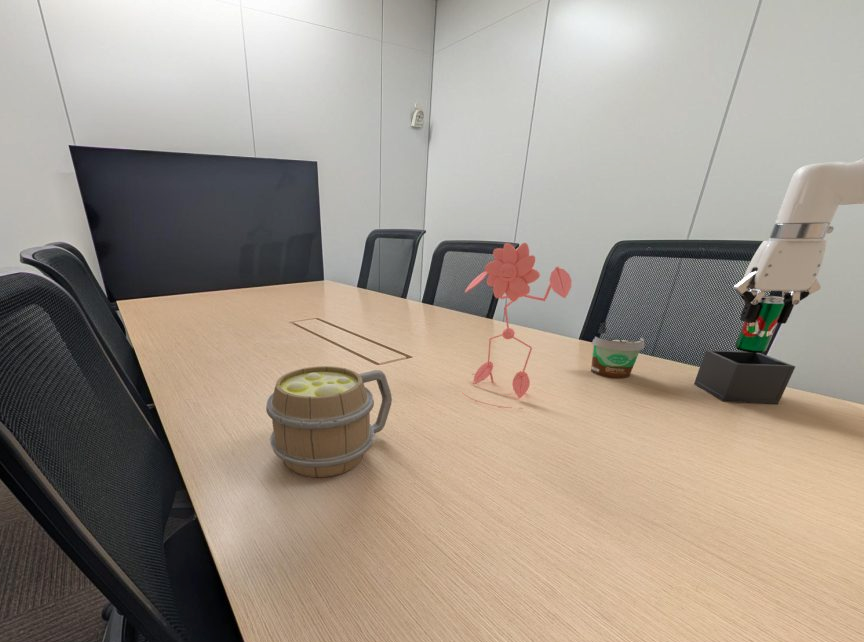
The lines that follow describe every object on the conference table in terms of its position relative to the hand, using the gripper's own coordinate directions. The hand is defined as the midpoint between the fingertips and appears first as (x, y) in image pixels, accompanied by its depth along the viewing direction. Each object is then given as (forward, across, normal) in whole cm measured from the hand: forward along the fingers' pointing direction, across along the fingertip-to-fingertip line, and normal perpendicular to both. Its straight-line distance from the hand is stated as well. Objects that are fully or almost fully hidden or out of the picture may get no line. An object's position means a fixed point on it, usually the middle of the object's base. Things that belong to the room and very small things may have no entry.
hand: (762, 321), depth 82 cm
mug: (+18, +88, +39) cm, 98 cm away
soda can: (+7, 0, 0) cm, 7 cm away
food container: (+18, +22, -9) cm, 30 cm away
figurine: (+18, +56, +8) cm, 59 cm away
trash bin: (+18, 0, 0) cm, 18 cm away
